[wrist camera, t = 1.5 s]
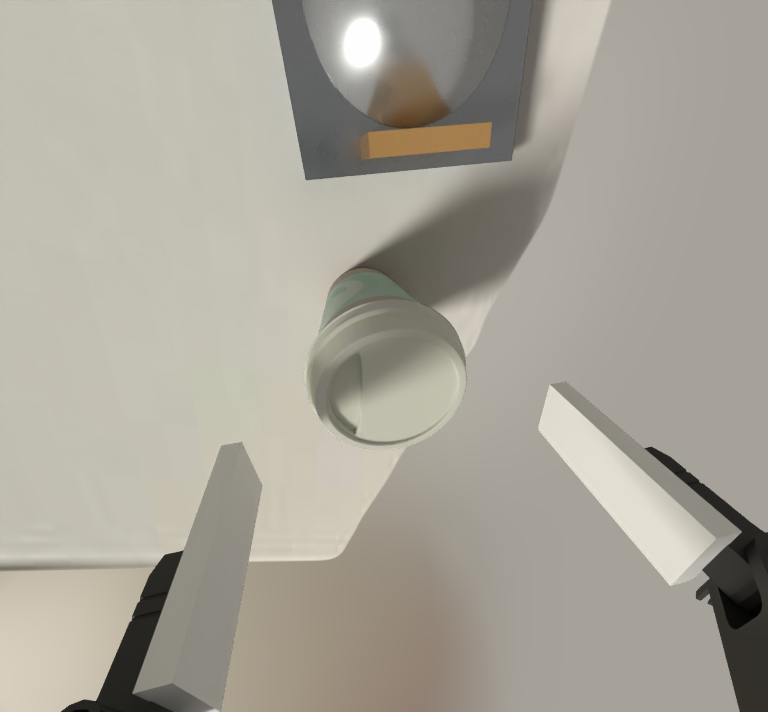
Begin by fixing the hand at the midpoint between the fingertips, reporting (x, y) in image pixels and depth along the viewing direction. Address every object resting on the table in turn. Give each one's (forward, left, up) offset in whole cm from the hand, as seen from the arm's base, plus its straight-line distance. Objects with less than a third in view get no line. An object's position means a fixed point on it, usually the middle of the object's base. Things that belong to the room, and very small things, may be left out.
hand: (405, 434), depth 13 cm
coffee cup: (0, 0, -14) cm, 14 cm away
